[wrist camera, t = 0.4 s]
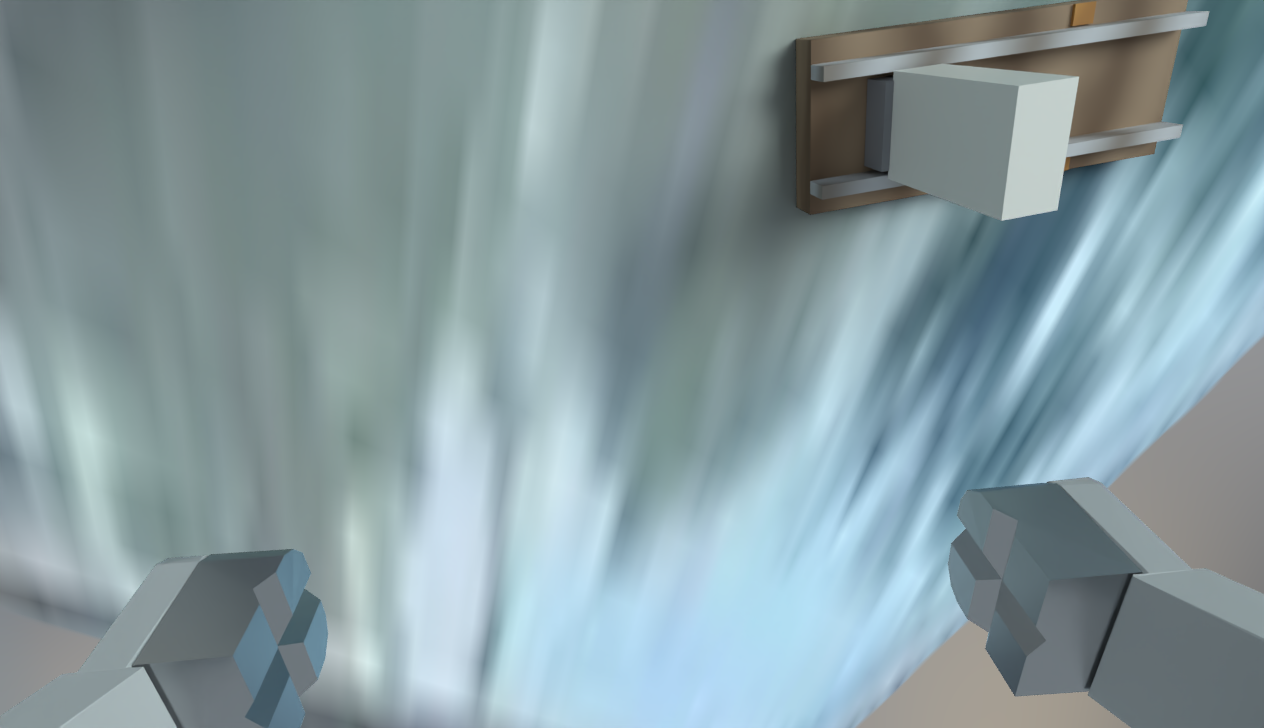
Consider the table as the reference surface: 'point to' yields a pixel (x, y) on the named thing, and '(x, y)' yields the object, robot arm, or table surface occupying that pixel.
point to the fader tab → (973, 135)
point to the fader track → (1010, 40)
